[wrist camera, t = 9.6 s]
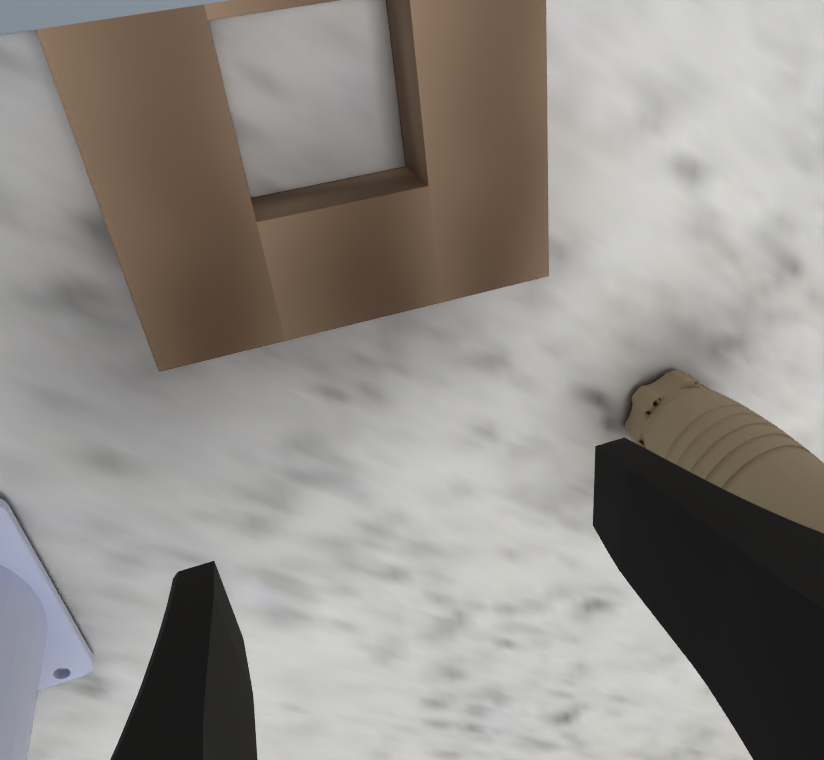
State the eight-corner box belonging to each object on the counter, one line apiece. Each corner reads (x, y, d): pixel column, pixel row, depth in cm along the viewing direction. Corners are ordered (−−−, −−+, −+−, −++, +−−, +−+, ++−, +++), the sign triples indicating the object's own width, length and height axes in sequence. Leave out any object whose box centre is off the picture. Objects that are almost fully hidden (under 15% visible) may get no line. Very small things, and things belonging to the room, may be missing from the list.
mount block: (158, 337, 20) (158, 371, 18) (-11, -147, 14) (-33, -161, 12) (519, 252, 22) (548, 276, 20) (504, -200, 16) (543, -218, 15)
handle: (563, 447, 27) (910, 864, 15) (675, 308, 25) (1176, 647, 13) (643, 485, 29) (997, 870, 17) (749, 361, 28) (1230, 689, 15)
